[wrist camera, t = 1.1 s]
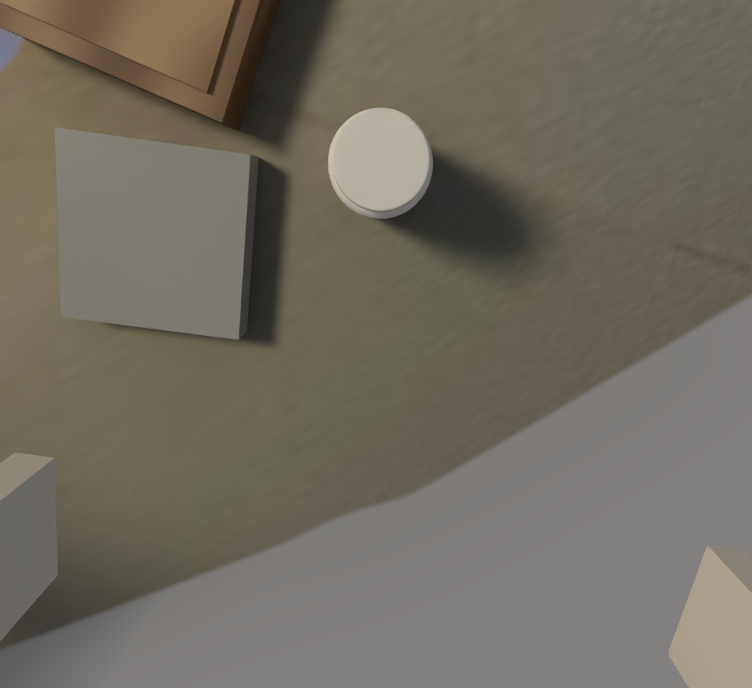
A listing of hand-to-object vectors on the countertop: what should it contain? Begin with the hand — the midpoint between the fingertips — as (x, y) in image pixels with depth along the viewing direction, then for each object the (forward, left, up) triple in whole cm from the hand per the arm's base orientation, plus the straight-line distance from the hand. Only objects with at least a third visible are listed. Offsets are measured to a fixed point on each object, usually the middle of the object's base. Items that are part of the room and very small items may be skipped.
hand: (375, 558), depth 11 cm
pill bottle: (-3, +8, -22) cm, 23 cm away
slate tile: (-13, 0, -22) cm, 25 cm away
